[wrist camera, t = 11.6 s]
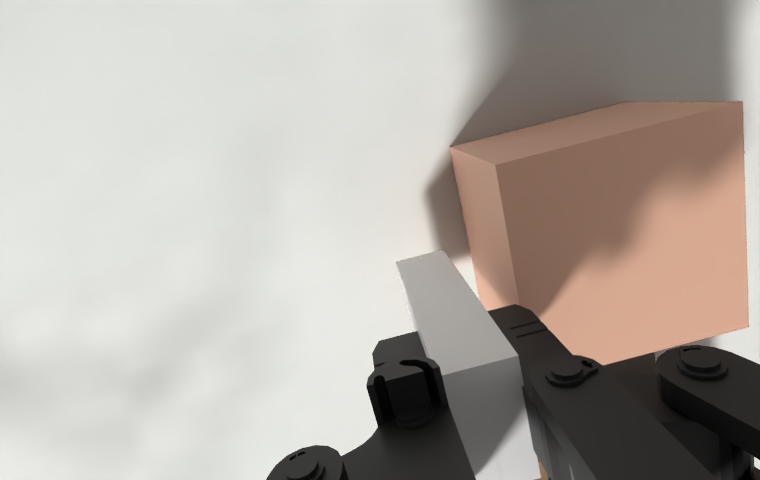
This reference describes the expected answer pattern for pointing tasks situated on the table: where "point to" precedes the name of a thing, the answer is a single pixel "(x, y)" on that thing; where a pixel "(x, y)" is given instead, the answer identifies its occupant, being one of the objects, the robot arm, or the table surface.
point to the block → (613, 224)
